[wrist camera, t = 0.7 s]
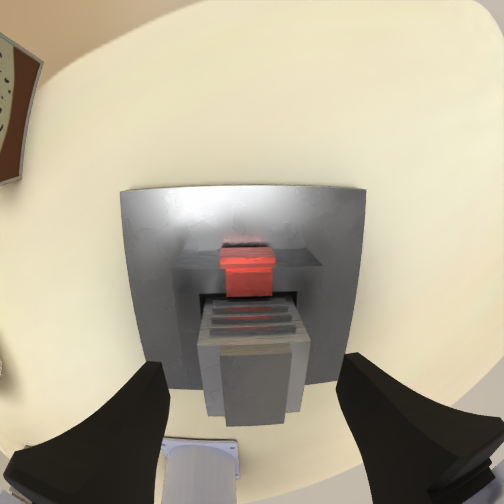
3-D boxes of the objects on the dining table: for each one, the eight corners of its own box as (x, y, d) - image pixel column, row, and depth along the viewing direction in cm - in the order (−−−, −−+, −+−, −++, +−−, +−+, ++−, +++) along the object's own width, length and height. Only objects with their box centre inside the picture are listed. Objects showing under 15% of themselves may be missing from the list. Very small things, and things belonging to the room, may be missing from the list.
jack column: (278, 334, 17) (303, 421, 10) (213, 336, 16) (206, 427, 10) (281, 272, 15) (317, 346, 9) (209, 274, 15) (193, 352, 8)
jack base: (332, 368, 20) (353, 412, 15) (157, 374, 19) (143, 421, 14) (355, 187, 16) (400, 195, 11) (129, 189, 15) (89, 198, 10)
